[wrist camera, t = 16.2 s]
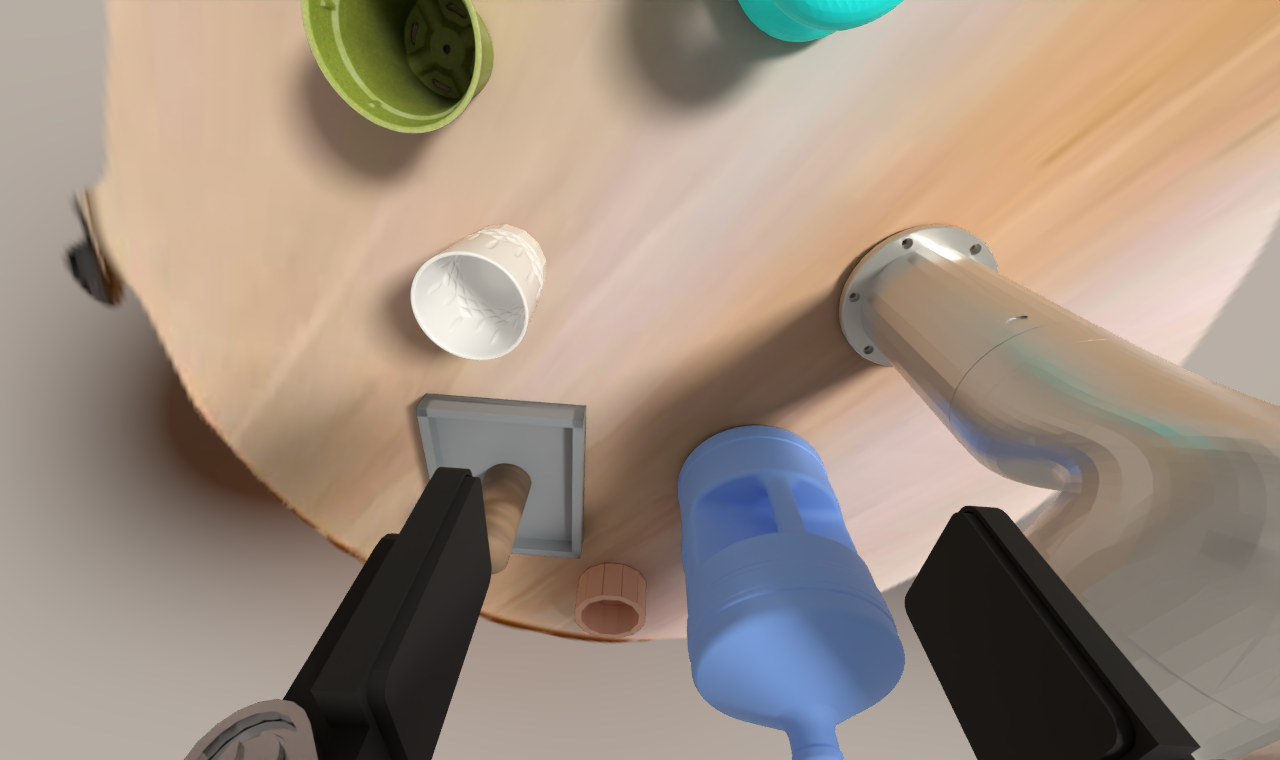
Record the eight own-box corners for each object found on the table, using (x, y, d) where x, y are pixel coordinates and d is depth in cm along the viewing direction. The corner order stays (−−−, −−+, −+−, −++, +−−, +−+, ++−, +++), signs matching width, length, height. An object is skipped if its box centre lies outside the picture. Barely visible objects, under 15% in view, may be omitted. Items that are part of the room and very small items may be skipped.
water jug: (801, 532, 57) (908, 852, 33) (669, 522, 57) (682, 839, 33) (839, 426, 49) (1018, 748, 25) (686, 414, 49) (719, 729, 25)
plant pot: (388, -70, 30) (303, -122, 23) (534, 0, 32) (498, -27, 24) (373, 91, 35) (297, 92, 27) (501, 145, 36) (462, 160, 29)
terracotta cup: (648, 566, 61) (647, 598, 57) (642, 607, 65) (642, 640, 61) (580, 561, 61) (575, 593, 57) (579, 603, 65) (574, 635, 61)
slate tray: (586, 405, 48) (583, 420, 46) (582, 541, 59) (580, 558, 57) (426, 393, 48) (415, 407, 46) (451, 531, 58) (443, 548, 56)
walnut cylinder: (530, 465, 51) (505, 540, 43) (532, 499, 54) (509, 576, 45) (483, 461, 51) (449, 536, 43) (487, 495, 54) (456, 573, 45)
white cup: (564, 235, 40) (540, 276, 31) (541, 318, 44) (514, 374, 35) (469, 201, 39) (416, 234, 30) (454, 290, 42) (404, 340, 34)
